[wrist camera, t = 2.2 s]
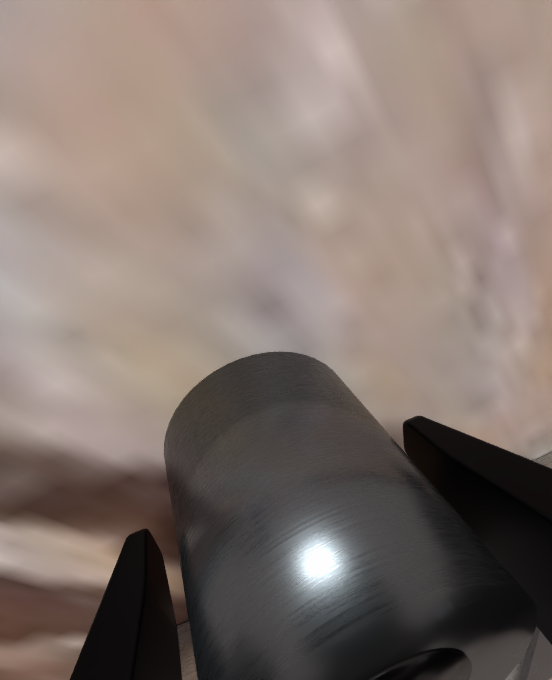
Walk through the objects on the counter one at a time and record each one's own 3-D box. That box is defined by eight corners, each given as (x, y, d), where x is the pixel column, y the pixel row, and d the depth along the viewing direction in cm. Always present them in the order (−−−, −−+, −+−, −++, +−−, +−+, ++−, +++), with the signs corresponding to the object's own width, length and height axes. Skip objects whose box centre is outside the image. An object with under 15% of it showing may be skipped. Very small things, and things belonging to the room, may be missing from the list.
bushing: (339, 323, 10) (566, 531, 5) (358, 466, 13) (521, 699, 8) (132, 396, 9) (155, 741, 4) (197, 534, 12) (262, 852, 7)
